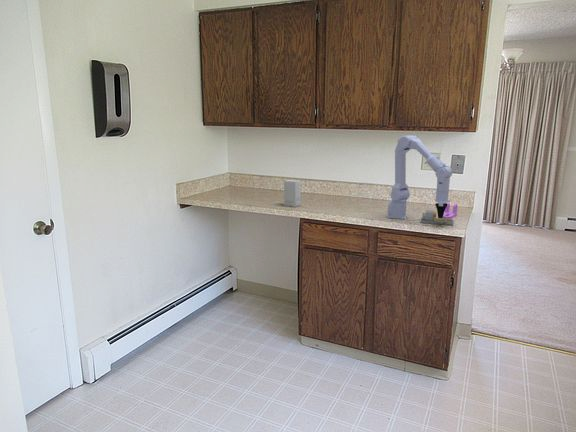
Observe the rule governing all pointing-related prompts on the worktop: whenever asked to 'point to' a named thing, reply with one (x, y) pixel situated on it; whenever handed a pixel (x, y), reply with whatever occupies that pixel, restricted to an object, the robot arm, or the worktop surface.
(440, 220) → the keeper bar
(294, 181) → the skincare box
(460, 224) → the worktop surface
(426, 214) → the block
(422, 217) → the grey latch board
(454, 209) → the bracket
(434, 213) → the orange block with stem
